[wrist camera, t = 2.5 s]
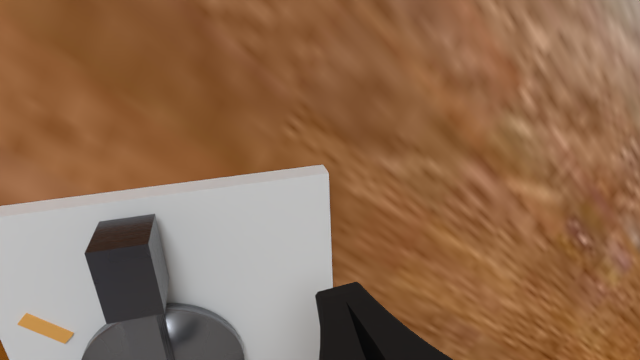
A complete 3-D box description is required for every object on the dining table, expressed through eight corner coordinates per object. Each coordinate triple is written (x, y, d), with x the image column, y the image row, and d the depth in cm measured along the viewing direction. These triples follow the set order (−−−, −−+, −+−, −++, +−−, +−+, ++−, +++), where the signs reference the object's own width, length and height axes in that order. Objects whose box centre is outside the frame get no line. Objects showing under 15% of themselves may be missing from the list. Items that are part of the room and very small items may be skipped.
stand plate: (332, 391, 25) (337, 408, 24) (66, 453, 22) (59, 475, 21) (322, 164, 19) (329, 174, 18) (-38, 211, 16) (-54, 225, 15)
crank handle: (251, 401, 22) (256, 446, 20) (102, 435, 21) (91, 487, 19) (221, 202, 17) (223, 232, 15) (27, 229, 16) (-1, 266, 14)
